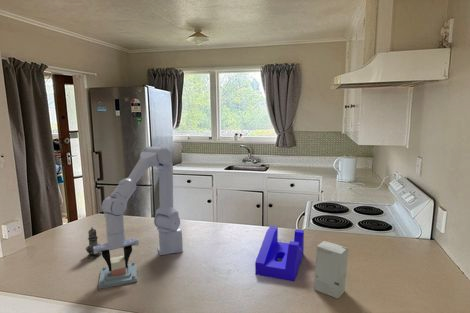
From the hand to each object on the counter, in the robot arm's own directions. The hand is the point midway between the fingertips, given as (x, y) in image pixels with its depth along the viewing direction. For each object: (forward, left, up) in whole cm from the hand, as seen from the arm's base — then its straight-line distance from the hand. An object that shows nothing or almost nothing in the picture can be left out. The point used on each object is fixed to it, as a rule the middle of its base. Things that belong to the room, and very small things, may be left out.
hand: (118, 268), depth 107 cm
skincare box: (-64, +33, -3) cm, 72 cm away
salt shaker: (+10, -21, -3) cm, 23 cm away
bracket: (-58, +12, -4) cm, 59 cm away
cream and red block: (0, 0, -2) cm, 2 cm away
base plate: (0, 0, -3) cm, 3 cm away
